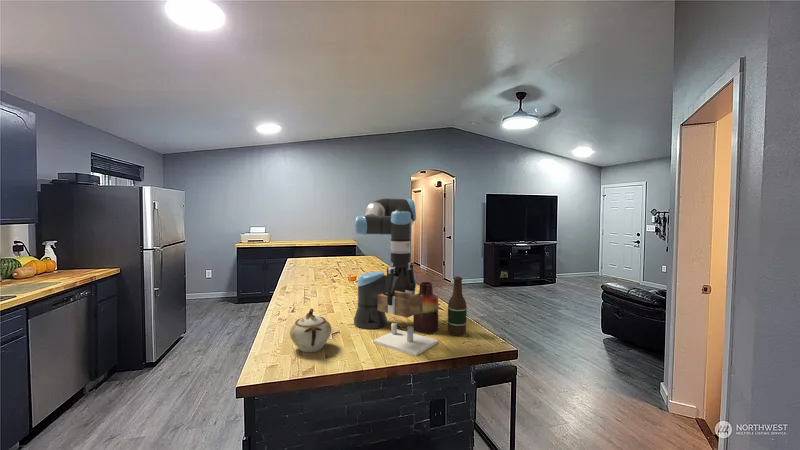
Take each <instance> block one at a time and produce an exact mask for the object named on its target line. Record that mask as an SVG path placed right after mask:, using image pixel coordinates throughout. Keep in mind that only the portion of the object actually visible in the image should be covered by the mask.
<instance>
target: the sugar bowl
mask: <svg viewBox="0 0 800 450" xmlns="http://www.w3.org/2000/svg"><path fill="white" fill-rule="evenodd" d="M331 334H332V325H331V323H330V322H329V321H328V320H327V319H326V318H325V317H323V316H318V315H314V308H310V309H309V312H308V313H306V315H305V316H304V317H302V318H301V317H300V318H298V319H297V320H295V322H294V323H293V324H292V325H291V327H290V330H289V337H290V339H291V340H292V342H293V343H294V345H295V346H296V347H297V348H298V350H299V351H300V352H302V353H303V352H304V353H316V352H319V351H320V350H322V349H323V348H324V346H325V345H326V343H327V341H328V340H329V338H330V336H331Z"/></svg>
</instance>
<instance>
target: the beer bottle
mask: <svg viewBox="0 0 800 450" xmlns="http://www.w3.org/2000/svg"><path fill="white" fill-rule="evenodd" d="M462 282H463V277H462V276H459V275H458V276H454V277H453V286H452V287H453V289H452V295H451V297H450V298H449V300H448V304H447V305H448V306H447V333H448V334H449V335H451V336H455V337H463V336H464V335H466V333H467V316H468V315H467V313H468V312H467V309H468V308H467V302H466V300H465V297H464V296H463V286H462V285H463V283H462Z"/></svg>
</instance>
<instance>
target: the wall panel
mask: <svg viewBox="0 0 800 450" xmlns="http://www.w3.org/2000/svg"><path fill="white" fill-rule="evenodd" d="M390 328H391V330H390V332H388V333H386V334H384V335H381V336H380V337H378V338H375V339H374V340H373V339H372V342H373V344H375V345H379V346H382V347H384V348H389V349H392V350H395V351H398V352H402V353H404V354H409V355H412V356H415V357H417V356H418V355H419V354H421V353H422V354H423V352H425V351H427V350H428V349H429V348H431V347H433V346H435V345H437V344H438V343H439V339H437V338H433V337H428V336H424V335H420V334H416V333H414V329H413V326H410V325H409V326H407V327H406V330H401V329H398V323H396V322H392V323H391V326H390Z"/></svg>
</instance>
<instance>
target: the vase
mask: <svg viewBox="0 0 800 450" xmlns="http://www.w3.org/2000/svg"><path fill="white" fill-rule="evenodd" d="M415 294H416V295H421V296H423V311H422V312H420V313H417V314H415V315H413V324H412V325H413V326H412V327H413V332H417V333H418V334H419V333H420V334H434V333H437V332H438V331H439V296H438V295H437V294H435V293H434V284H433V282H430V281H421V282H420V283H419V292H418V293H415Z"/></svg>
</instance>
